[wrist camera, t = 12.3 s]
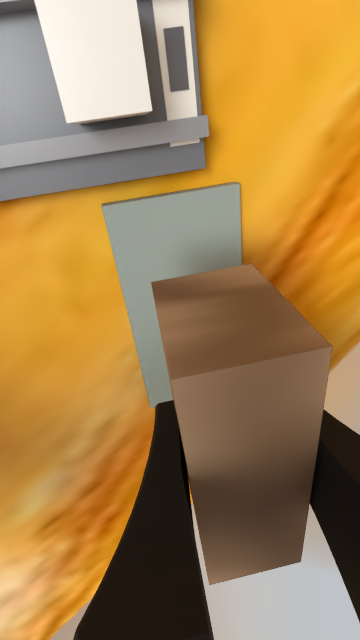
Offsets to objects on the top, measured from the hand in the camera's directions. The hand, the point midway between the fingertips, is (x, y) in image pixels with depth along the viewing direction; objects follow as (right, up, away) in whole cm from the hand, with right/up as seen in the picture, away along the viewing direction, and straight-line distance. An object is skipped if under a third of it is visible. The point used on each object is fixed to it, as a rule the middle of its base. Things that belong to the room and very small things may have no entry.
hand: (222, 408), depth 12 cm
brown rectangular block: (0, +1, +1) cm, 2 cm away
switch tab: (-4, +12, -1) cm, 13 cm away
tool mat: (-1, +4, +7) cm, 8 cm away
